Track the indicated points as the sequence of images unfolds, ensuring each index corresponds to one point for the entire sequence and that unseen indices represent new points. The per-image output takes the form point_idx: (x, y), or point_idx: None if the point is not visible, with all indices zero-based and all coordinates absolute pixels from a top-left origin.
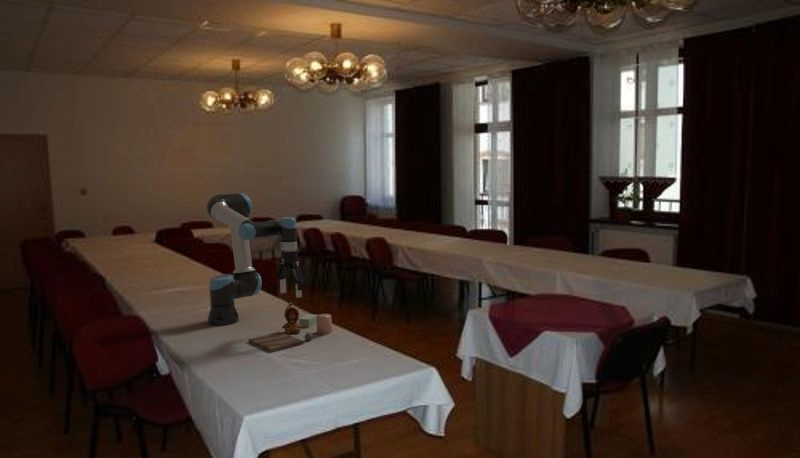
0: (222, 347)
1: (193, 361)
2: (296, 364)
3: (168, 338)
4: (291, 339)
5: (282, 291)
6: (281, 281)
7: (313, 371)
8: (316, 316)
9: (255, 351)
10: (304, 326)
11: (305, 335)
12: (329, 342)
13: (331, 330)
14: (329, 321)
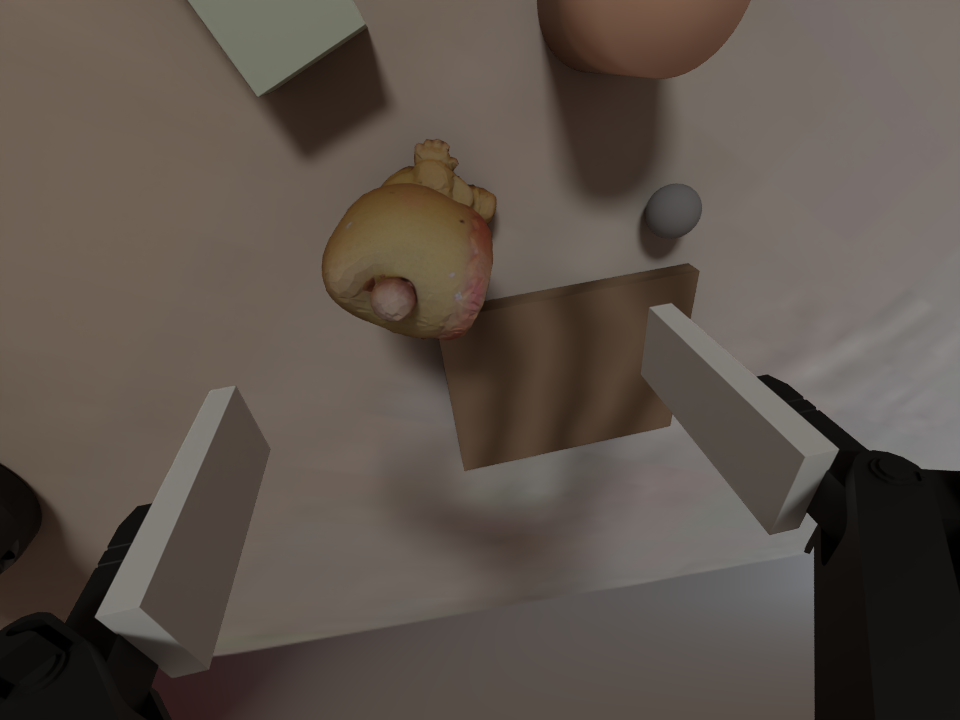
0: (462, 534)
1: (542, 593)
2: (847, 378)
3: (219, 651)
4: (629, 315)
5: (256, 453)
6: (213, 624)
7: (947, 354)
8: (635, 72)
9: (600, 457)
10: (322, 57)
11: (670, 238)
12: (802, 112)
13: None
14: None
